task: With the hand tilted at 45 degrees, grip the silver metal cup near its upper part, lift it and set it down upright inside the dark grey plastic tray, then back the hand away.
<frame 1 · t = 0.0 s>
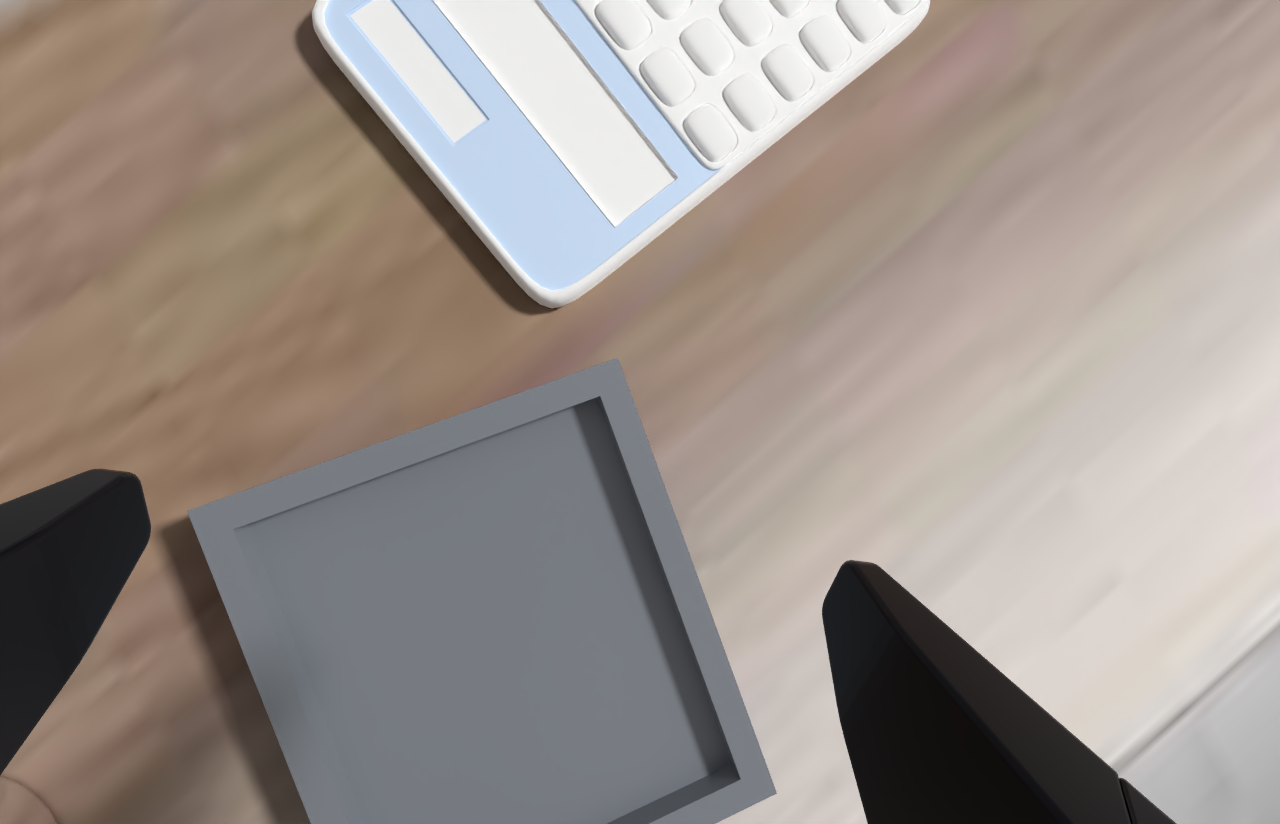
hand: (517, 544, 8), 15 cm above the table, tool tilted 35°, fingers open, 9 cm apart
grey tray: (505, 638, 23), on the table
calculator: (637, 33, 25), on the table
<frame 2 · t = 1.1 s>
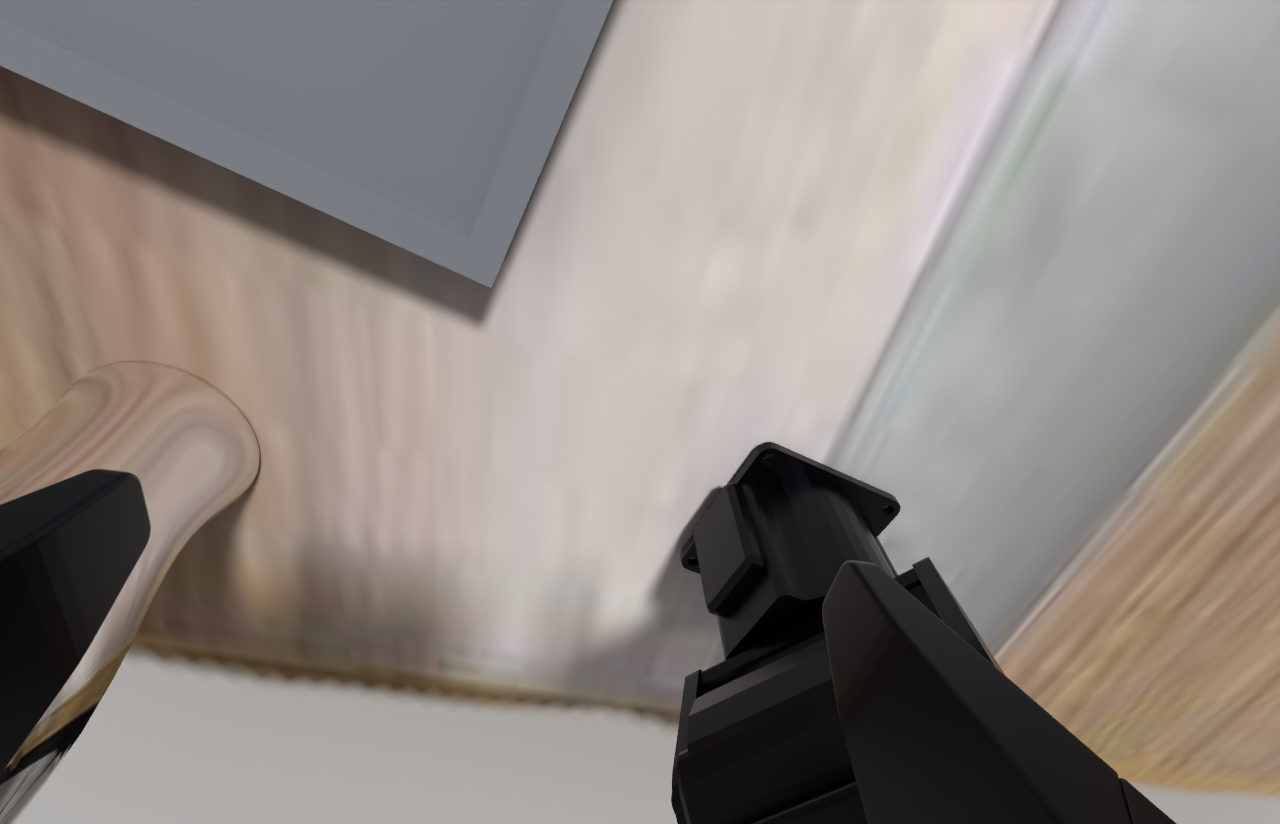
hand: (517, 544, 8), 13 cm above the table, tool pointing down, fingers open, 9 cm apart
silver metal cup: (171, 435, 22), on the table
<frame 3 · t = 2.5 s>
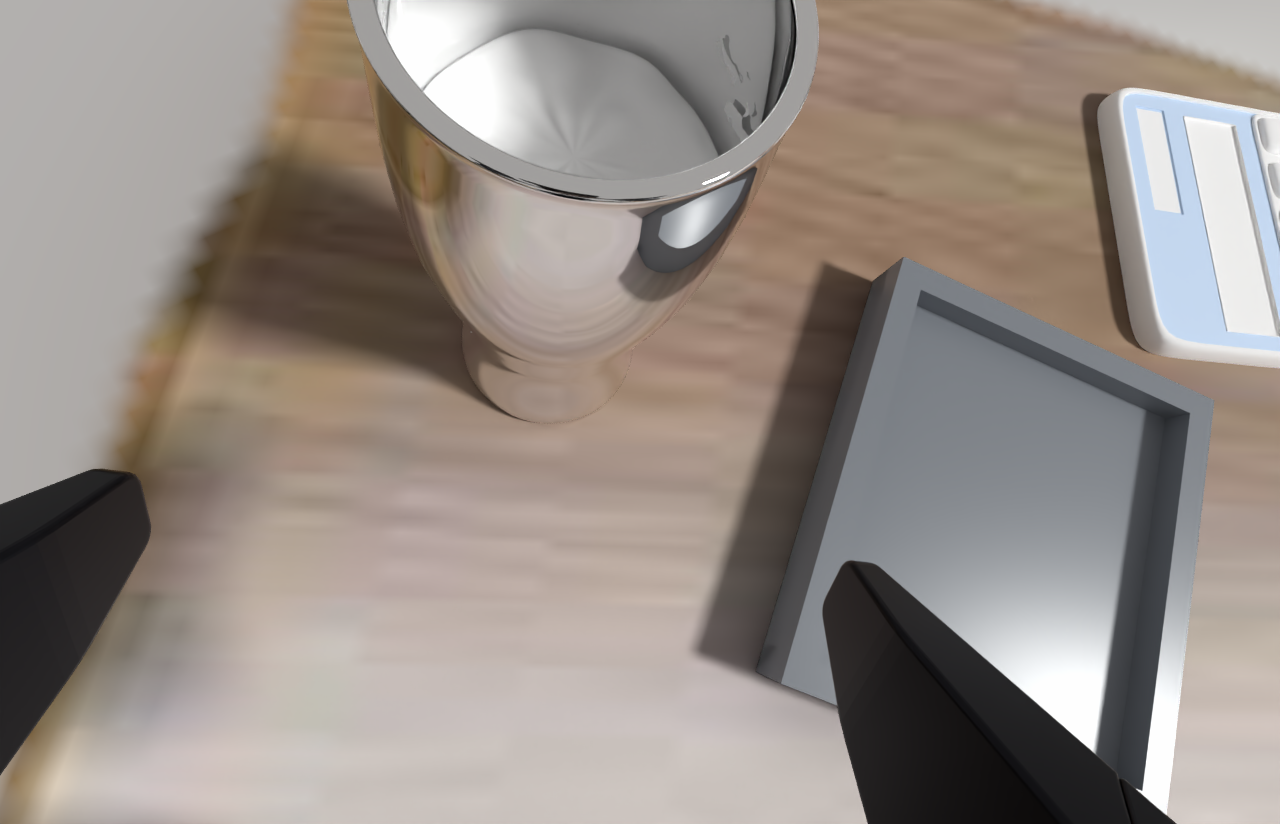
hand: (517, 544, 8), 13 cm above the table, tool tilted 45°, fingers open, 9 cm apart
grey tray: (981, 527, 25), on the table
calculator: (1269, 249, 32), on the table
silver metal cup: (548, 344, 23), on the table
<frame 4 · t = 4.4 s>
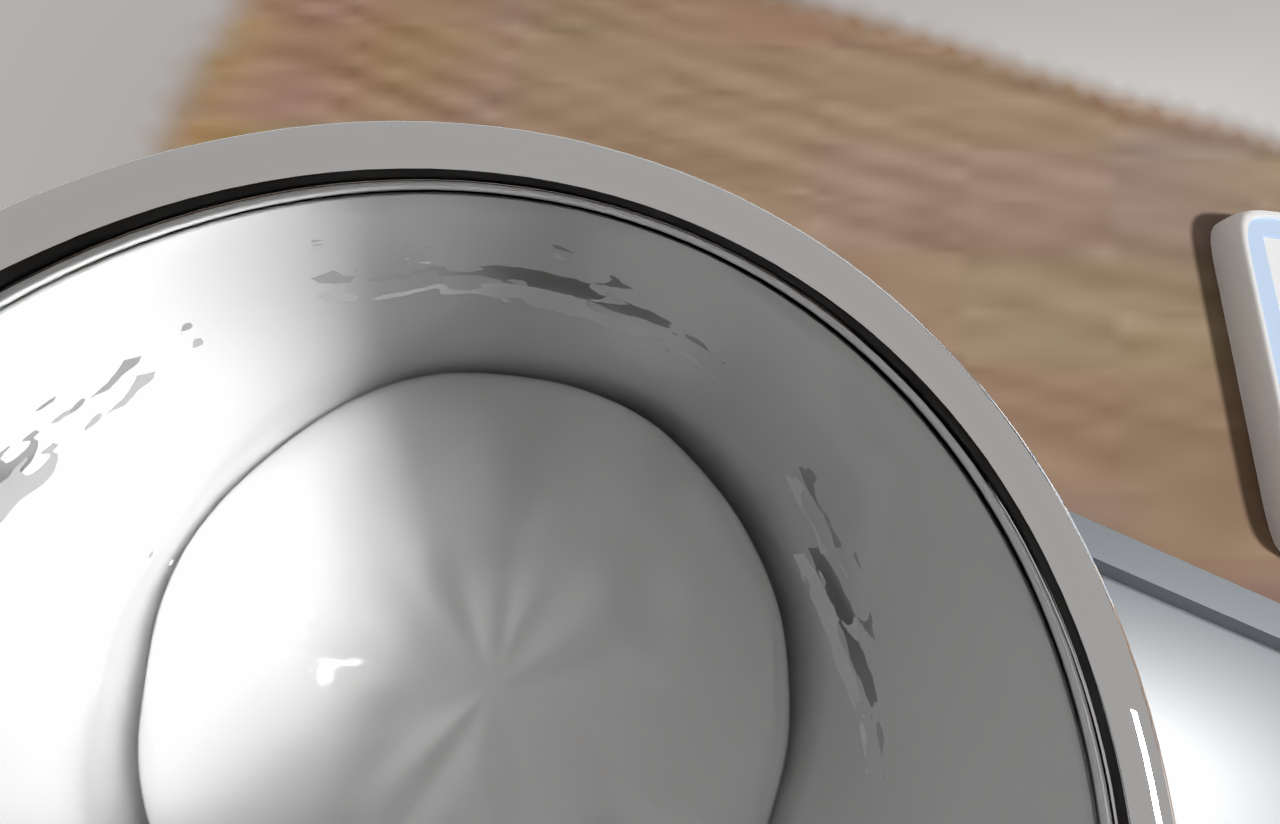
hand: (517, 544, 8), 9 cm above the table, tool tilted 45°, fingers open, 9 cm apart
silver metal cup: (509, 607, 17), on the table
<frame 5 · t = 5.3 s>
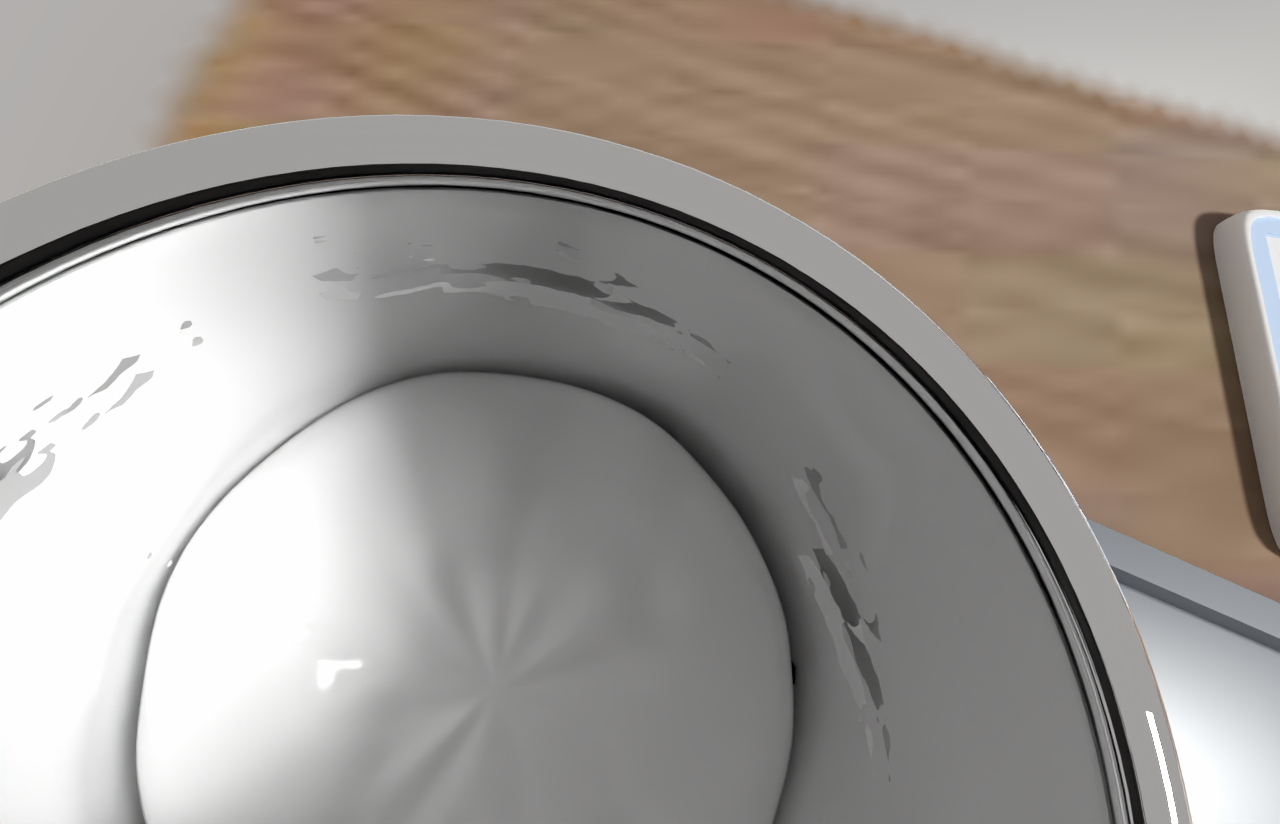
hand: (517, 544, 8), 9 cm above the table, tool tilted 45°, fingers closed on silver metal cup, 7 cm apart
silver metal cup: (509, 608, 17), on the table, touching gripper
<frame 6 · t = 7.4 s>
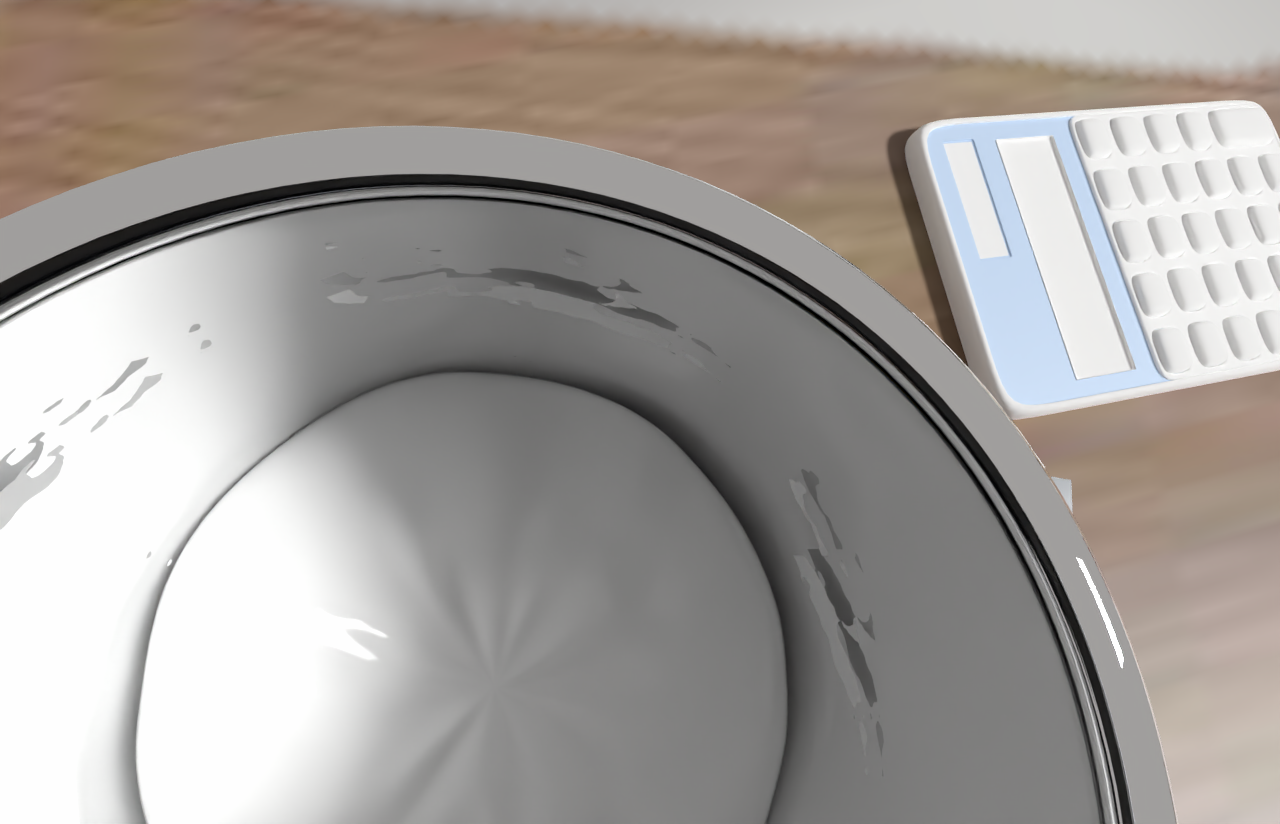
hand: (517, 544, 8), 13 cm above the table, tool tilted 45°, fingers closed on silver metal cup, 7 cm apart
grey tray: (851, 682, 22), on the table
calculator: (1113, 256, 30), on the table
silver metal cup: (501, 605, 17), point 4 cm above the table, touching gripper
when the fingers open (11 cm above the table, at t = 9.7 s): silver metal cup drops 1 cm, resting on grey tray.
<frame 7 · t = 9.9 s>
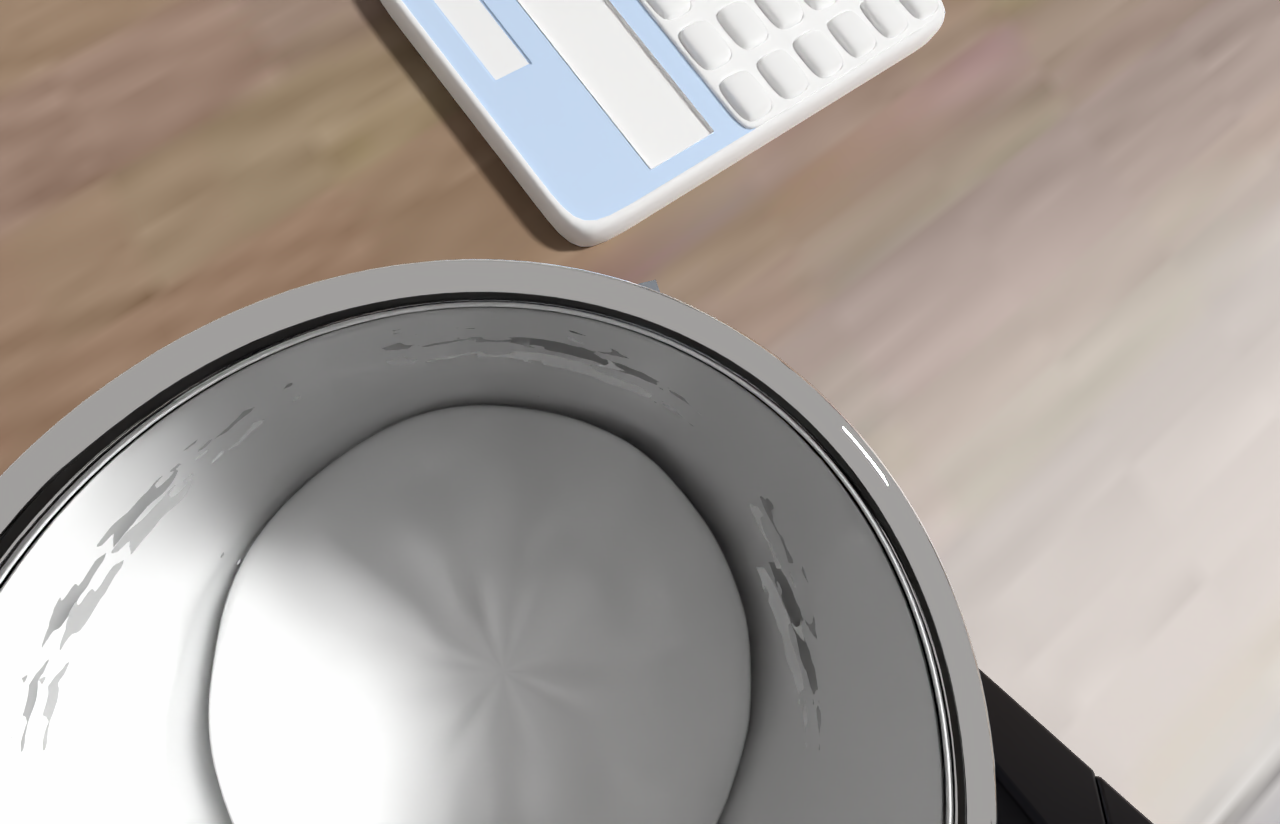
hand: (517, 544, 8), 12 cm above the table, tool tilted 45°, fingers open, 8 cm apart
calculator: (674, 23, 26), on the table
silver metal cup: (504, 607, 18), point 1 cm above the table, touching grey tray
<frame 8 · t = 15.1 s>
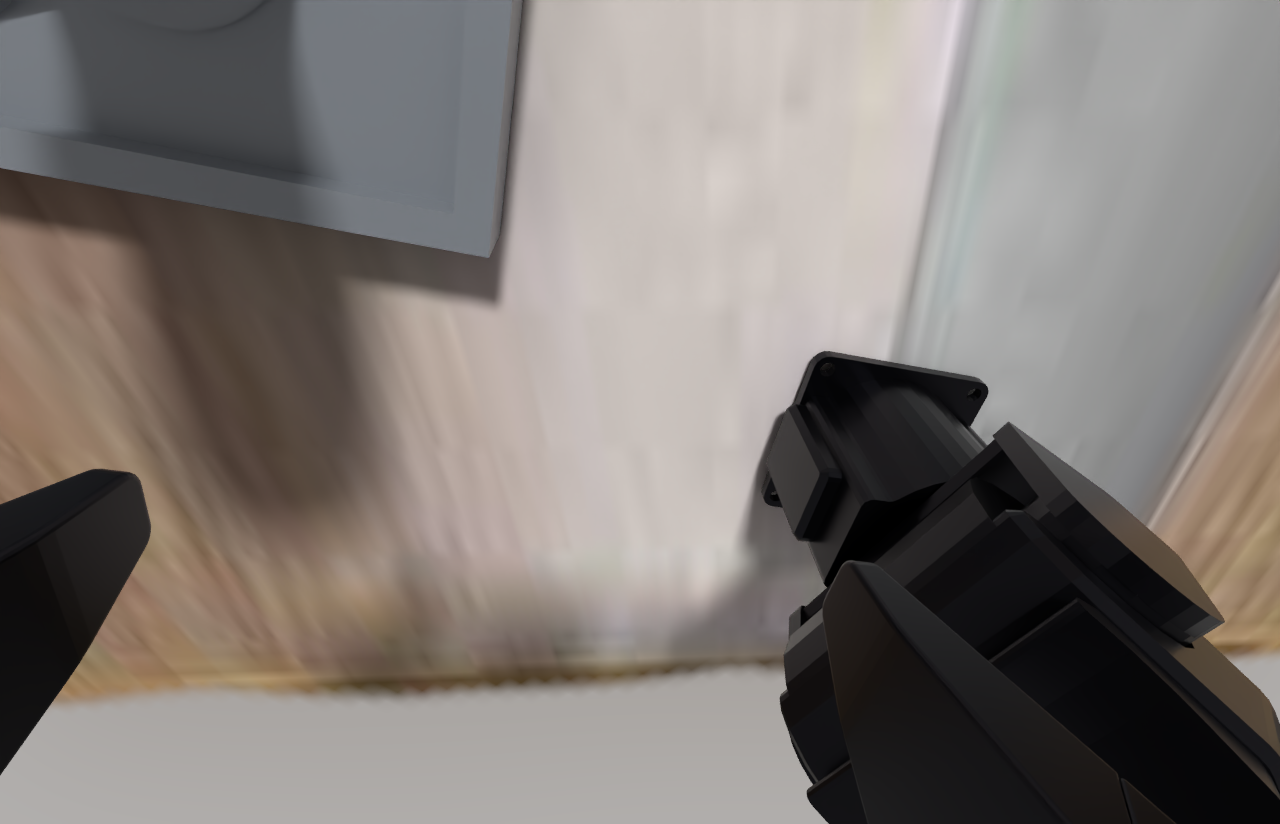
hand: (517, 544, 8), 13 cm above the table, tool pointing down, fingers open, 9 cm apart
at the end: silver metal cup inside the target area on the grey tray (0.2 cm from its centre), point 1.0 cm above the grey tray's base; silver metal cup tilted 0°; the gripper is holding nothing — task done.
